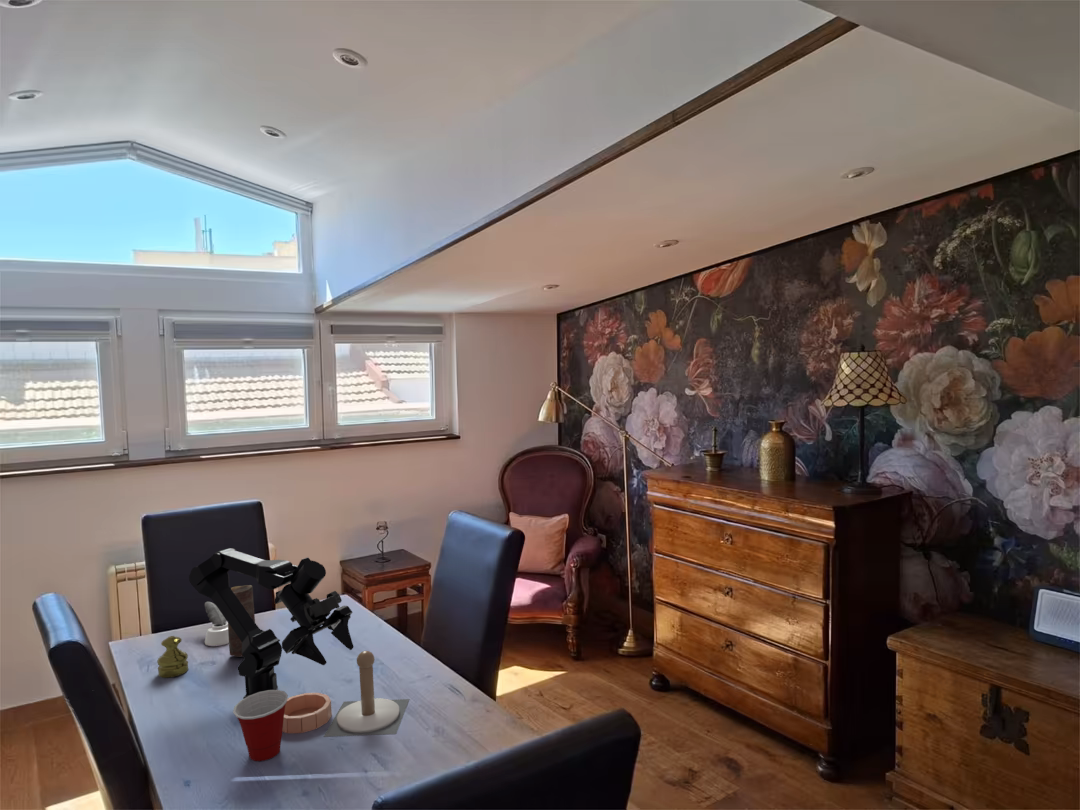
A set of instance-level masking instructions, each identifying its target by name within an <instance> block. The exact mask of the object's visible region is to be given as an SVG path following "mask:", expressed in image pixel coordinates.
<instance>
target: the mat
mask: <svg viewBox="0 0 1080 810" xmlns="http://www.w3.org/2000/svg"><path fill="white" fill-rule="evenodd" d="M391 700H392V701H394V702H396V703H397V704H398V706H399V716H398V718H397V719H396V720H395V721H394V722H393V723H392V724H390V725H389V726H387V727H384V728H382V729H379V730H376V731H372V732H365V733H353V732H347V731H345V730H342V729H341V728H340V727H339V726H338V724H337V716H338V714H339V712H340V711H341V710H342V709H343V708H345V707H346V706H348V705H350V704H352V703H355V702H357V701H358V700H350V701H346V700H345V701H343V702H342V703H341V706H340V707H339V709H338V711H337V713H336V714H335V715H334V717H333V719H332V721H331V723H330V725H329V726H328V727H327V730H326V732H325V733H324V735H323V737H324V738H326V737H327V738H329V737H332V738H333V737H353V736H355V737H356V736H357V737H359V736H380V735H382V736H383V735H396V734H397V733H398V730H399V728H400V725H401V722H402V720H403V717H404V715H405V712H406V709H407V707H408V704H409V702H410V698H403V699H399V698H398V699H391Z"/></svg>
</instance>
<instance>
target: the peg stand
mask: <svg viewBox="0 0 1080 810" xmlns="http://www.w3.org/2000/svg"><path fill="white" fill-rule="evenodd" d="M374 663H375V655H374V654H373V652H371V651H370V650H364V651H361V652H360V653H359V654H358V655H357V656H356V664H357V666H358V668H359V685H360V686H359V688H360V700H356V701H357V702H355V703H352V704H350V705H348V706H346V707H345V708H343V709H342V710H341V711H340V712H339V714H338V716H337V724H338V726H339V727H340V728H341V729H342V730H345V731H347V732H353V733H365V732H372V731H376V730H379V729H382V728H384V727H387V726H389V725H390V724H392V723H393V722H394V721H395V720H396V719H397V718H398V716H399V706H398V704H397V703H396V702H394V701H392V700H393V699H387V698H382V697H381V698H380V697H378V698H377V697H376V698H375V685H374V684H375V683H374V669H373V668H374V667H373V666H374Z"/></svg>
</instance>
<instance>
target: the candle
mask: <svg viewBox="0 0 1080 810" xmlns="http://www.w3.org/2000/svg"><path fill="white" fill-rule="evenodd" d="M230 588H231V590H232V591H233V592H234V594H235V595H236V597H237V598H238V599H239V601H240V602H241V604H242V605H243V606H244V608H245V609H246V611H247V612H248V613H249V615H250V616H251V618H252V619H253V620H254V622H255V623H256V617H255V605H254V604H255V603H254V602H255V601H254V589H253V585H251V584H249V585H248V584H246V585H236V586H233V587H230ZM228 635H229V643H228V646H229V647H228V649H229V656H231V657H239V658H240V657H243V655H242V642H241V640H240V639H239V637H238V636H237V634H236V633H235V632H234V630H233V629H232V627H231V626H230V624H229V623H228Z"/></svg>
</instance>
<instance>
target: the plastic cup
mask: <svg viewBox="0 0 1080 810" xmlns="http://www.w3.org/2000/svg"><path fill="white" fill-rule="evenodd" d="M288 696H289V695H288V694H287V692H285V691H284V690H280V689H276V690H267V691H262V692H258V693H255V694H253V695H250V696H248V697H246V698H244V699H243V698H242V699H241V700H239V701H238V702H237V704H236V705H235V706H234V707H233V710H232V711H233V712H232V713H233V714H234V716H235V718H237V720H238V723H239V724H240V727H241V730H242V734H243V738H244V742H245V743H244V744H245V746H246V749H247V753H248V755H249V759H250V760H252V761H254V762H265V761H268V760H270V759H273V758H275V757H276V756H277V755H278V754H280V752H281V744H282V743H281V742H282V738H283V732H282V730H283V719H284V712H285V705H286V702H287V699H288V698H289V697H288Z"/></svg>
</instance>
